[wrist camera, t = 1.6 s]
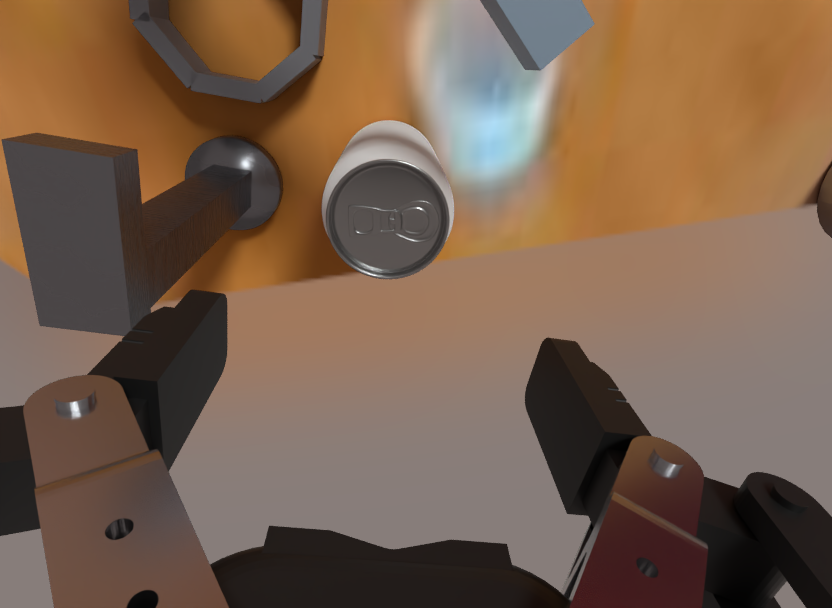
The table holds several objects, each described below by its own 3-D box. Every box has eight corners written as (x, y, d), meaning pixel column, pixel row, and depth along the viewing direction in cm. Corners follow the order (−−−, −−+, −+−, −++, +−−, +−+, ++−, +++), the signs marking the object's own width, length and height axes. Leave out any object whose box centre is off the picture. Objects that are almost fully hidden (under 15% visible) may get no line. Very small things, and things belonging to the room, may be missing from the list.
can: (435, 216, 34) (454, 288, 23) (343, 215, 33) (320, 287, 23) (439, 120, 31) (464, 150, 20) (339, 117, 30) (310, 147, 20)
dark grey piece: (287, 111, 30) (166, 166, 14) (280, 230, 34) (178, 383, 18) (189, 94, 29) (-57, 129, 13) (193, 217, 33) (3, 363, 17)
